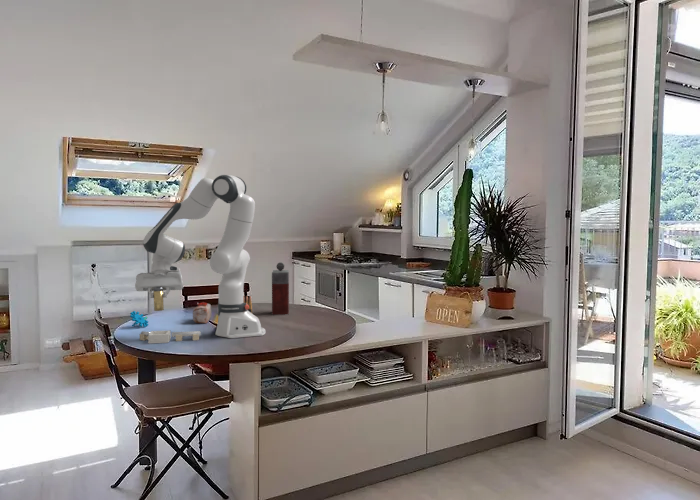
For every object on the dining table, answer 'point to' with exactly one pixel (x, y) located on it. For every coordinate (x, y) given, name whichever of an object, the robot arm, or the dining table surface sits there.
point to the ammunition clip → (248, 303)
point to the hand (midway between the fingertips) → (158, 297)
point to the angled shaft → (144, 335)
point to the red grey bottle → (280, 290)
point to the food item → (202, 313)
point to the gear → (138, 319)
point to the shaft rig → (166, 336)
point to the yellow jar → (158, 298)
